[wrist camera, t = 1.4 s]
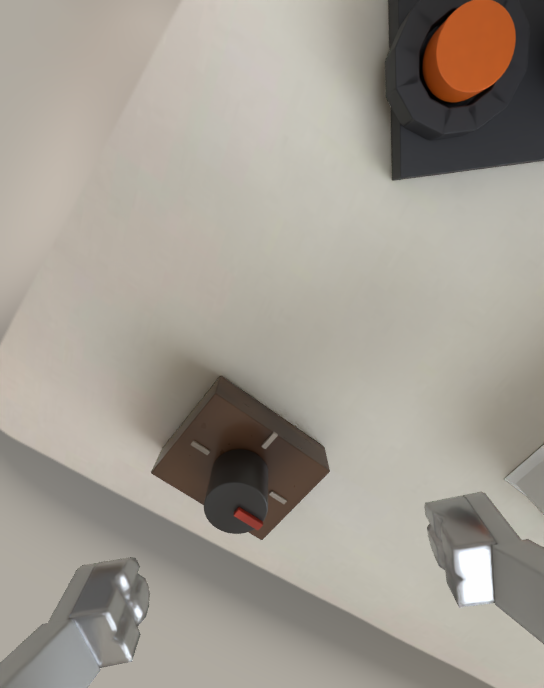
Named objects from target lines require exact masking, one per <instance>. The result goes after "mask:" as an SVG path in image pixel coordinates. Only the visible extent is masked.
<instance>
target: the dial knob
mask: <svg viewBox="0 0 544 688" xmlns="http://www.w3.org/2000/svg"><path fill="white" fill-rule="evenodd" d="M204 512H205V515H206V517H207V519H208V520H209V522H210V523H211V524H212V525H213V526H214V527H216V528H217V529H219V530H221V531H224V532H227V533H233V534H241V533H246V532H249V531H252V530H254V529H256V530H259V529H260V528H261V527H262V526H263V521H264V520H265V518H266V516H267V512H268V468H267V465H266V463H265V462H264V460H263V459H262V458H261V457H260V456H259V455H257V454H255V453H254V452H251V451H248V450H243V449H236V450H231V451H228V452H225V453H224V454H222V455H221V456H219V457H218V458H217V460H216V461H215V463H214V464H213V467H212V472H211V476H210V480H209V484H208V489H207V493H206V497H205V501H204Z"/></svg>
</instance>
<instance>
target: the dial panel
mask: <svg viewBox="0 0 544 688" xmlns="http://www.w3.org/2000/svg"><path fill="white" fill-rule="evenodd" d="M236 449H243V450H248V451H251V452H254V453H255V454H257V455H259V456H260V457H261V458H262V459H263V460H264V462H265V463H266V465H267V468H268V512H267V516H266V518H265V520H264V521H263V526H262V527H261V528H260V529H259V530H256V529H254V530H252V531H249V533H251V534H252V535H254V536H256V537H257V538H259V539H261V540H263V539H264V538H265V537H266V536H267V535H268V534H269V532H270V531H271V530H272V529H273V528H274V527H275V526H276V525H277V524H278V523H279V522H280V521H281V520H282V519H283V518H284V517H285V516H286V515H287V514H288V513H289V512H290V511H291V510H292V509H293V508H294V507H295V506H296V505H297V504H298V503H299V502H300V501H301V500H302V499H303V498H304V497H305V496H306V495H307V494H308V493H309V492H310V491H311V490H312V489H313V488H314V487H315V486H316V485H317V484H318V483H319V482H320V481H321V480H322V479H323V478H324V477H325V476H326V475H327V474H328V473H329V471H330V470H329V465H328V461H327V456H326V452H325V448H324V447H323V446H322V445H320V444H319V443H317V442H316V441H315V440H313V439H312V438H310V437H309V436H307V435H306V434H304V433H303V432H302V431H300V430H299V429H297V428H296V427H294V426H293V425H291V424H290V423H289V422H287V421H286V420H284V419H283V418H281V417H280V416H279V415H277V414H276V413H274V412H273V411H271V410H270V409H268V408H267V407H266V406H264V405H263V404H261V403H260V402H258V401H257V400H256V399H254V398H253V397H251V396H250V395H248V394H247V393H245V392H244V391H243V390H241V389H240V388H238V387H237V386H235V385H234V384H232V383H231V382H230V381H228V380H227V379H225V378H224V377H222V376H220V377H219V378H218V380H217V381H216V382H215V383H214V385H213V386H212V387H211V388H210V390H209V391H208V392H207V393H206V395H205V396H204V397H203V398H202V400H201V401H200V402H199V403H198V405H197V406H196V407H195V408H194V410H193V411H192V412H191V413H190V415H189V416H188V417H187V418H186V420H185V421H184V422H183V423H182V425H181V426H180V427H179V428H178V430H177V431H176V432H175V433H174V434H173V436H172V437H171V438H170V439H169V441H168V442H167V443H166V444H165V446H164V447H163V448H162V450H161V452H160V454H159V456H158V459H157V461H156V463H155V465H154V467H153V469H152V471H151V473H152V474H153V475H155V476H157V477H158V478H160V479H162V480H163V481H165V482H166V483H168V484H170V485H171V486H173V487H175V488H176V489H178V490H180V491H181V492H183V493H185V494H186V495H188V496H190V497H191V498H193V499H195V500H196V501H198V502H200V503H201V504H203V505H204V501H205V497H206V493H207V489H208V484H209V480H210V476H211V472H212V467H213V464H214V463H215V461H216V460H217V458H218V457H219V456H221V455H222V454H224V453H225V452H228V451H231V450H236Z"/></svg>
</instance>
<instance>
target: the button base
mask: <svg viewBox="0 0 544 688" xmlns="http://www.w3.org/2000/svg"><path fill="white" fill-rule="evenodd" d="M469 1H472V0H389V47H390V51H389V53H388V55H387V57H386V61H385V77H386V98H387V101H388V102H389V104H390V106H391V145H392V180H401V179H409V178H416V177H424V176H431V175H439V174H446V173H454V172H462V171H469V170H477V169H484V168H492V167H499V166H507V165H514V164H522V163H530V162H537V161H544V0H493V1H495V2H497V3H499V4H500V5H502V6H503V7H504V8H505V9H506V10H507V11H508V13H509V14H510V16H511V18H512V20H513V23H514V27H515V34H516V42H515V49H514V53H513V56H512V59H511V61H510V64H509V66H508V67H507V69H506V71H505V72H504V73H503V75H502V76H501V77H500V78H499V79H498V80H497V81H496V82H495V83H494V84H493V85H491V86H490V87H488V88H486V89H485V90H483V91H481V92H480V93H478V94H476V95H474V96H473V97H471V98H469V99H467V100H464V101H461V102H446V101H443V100H441V99H439V98H437V97H436V96H435V95H433V94H432V92H431V91H430V90H429V88H428V87H427V85H426V83H425V80H424V76H423V57H424V53H425V49H426V47H427V44H428V42H429V40H430V39H431V37H432V36H433V34H434V33H435V32H436V31H437V29H438V28H439V27H440V26H441V25H442V24H443V23H444V22H445V21H446V19H447V18H448V17H449V16H450V15H451V14H452V13H453V12H454V11H455V10H456V9H457V8H459V7H460V6H461V5H463V4H465V3H467V2H469Z"/></svg>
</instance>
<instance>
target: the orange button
mask: <svg viewBox="0 0 544 688" xmlns="http://www.w3.org/2000/svg"><path fill="white" fill-rule="evenodd" d="M515 42H516V34H515V27H514V23H513V20H512V18H511V16H510V14H509V13H508V11H507V10H506V9H505V8H504V7H503V6H502V5H500V4H499V3H497V2H495V1H493V0H472V1H469V2H467V3H465V4H463V5H461V6H460V7H459V8H457V9H456V10H455V11H454V12H453V13H452V14H451V15H450V16H449V17H448V18H447V19H446V21H445V22H444V23H443V24H442V25H441V26H440V27H439V28H438V29H437V31H436V32H435V33H434V34H433V36H432V37H431V39H430V40H429V42H428V44H427V47H426V49H425V53H424V57H423V76H424V80H425V83H426V85H427V87H428V88H429V90H430V91H431V92H432V94H433V95H435V96H436V97H437V98H439V99H441V100H443V101H446V102H461V101H464V100H467V99H469V98H471V97H473V96H474V95H476V94H478V93H480V92H481V91H483V90H485V89H486V88H488V87H490V86H491V85H493V84H494V83H495V82H496V81H497V80H498V79H499V78H500V77H501V76H502V75H503V73H504V72H505V71H506V69H507V67H508V66H509V64H510V61H511V59H512V56H513V53H514V49H515Z"/></svg>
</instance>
